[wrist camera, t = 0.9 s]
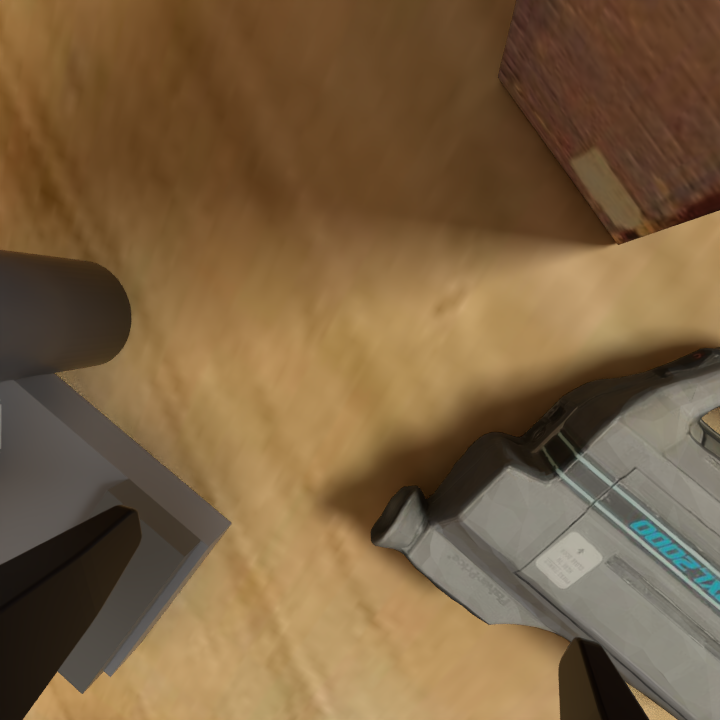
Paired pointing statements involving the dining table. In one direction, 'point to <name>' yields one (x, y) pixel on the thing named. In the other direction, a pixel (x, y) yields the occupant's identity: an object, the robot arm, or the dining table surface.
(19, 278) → the dark grey cylinder
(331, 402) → the dining table surface
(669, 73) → the book
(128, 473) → the grey stepped base
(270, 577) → the dining table surface
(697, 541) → the camcorder
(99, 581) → the robot arm
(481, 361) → the dining table surface
